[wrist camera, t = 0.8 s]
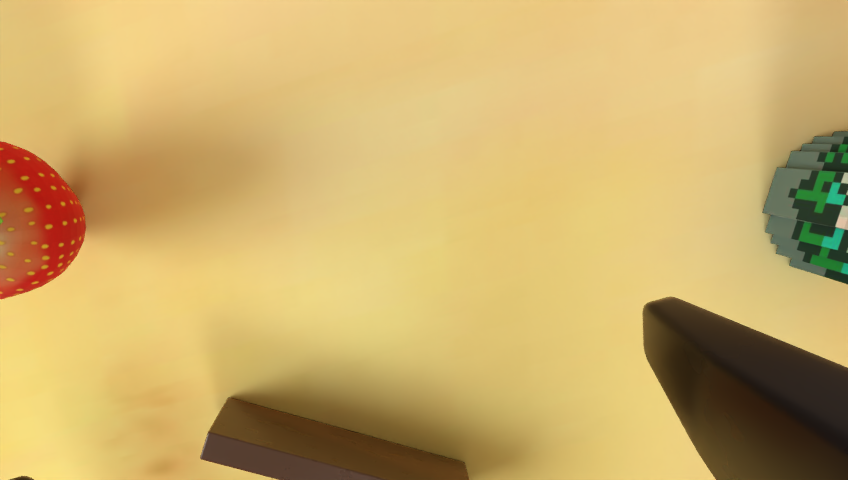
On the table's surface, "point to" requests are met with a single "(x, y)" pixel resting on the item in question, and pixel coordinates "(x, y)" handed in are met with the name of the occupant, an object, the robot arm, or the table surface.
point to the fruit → (35, 222)
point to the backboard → (314, 449)
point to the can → (813, 207)
